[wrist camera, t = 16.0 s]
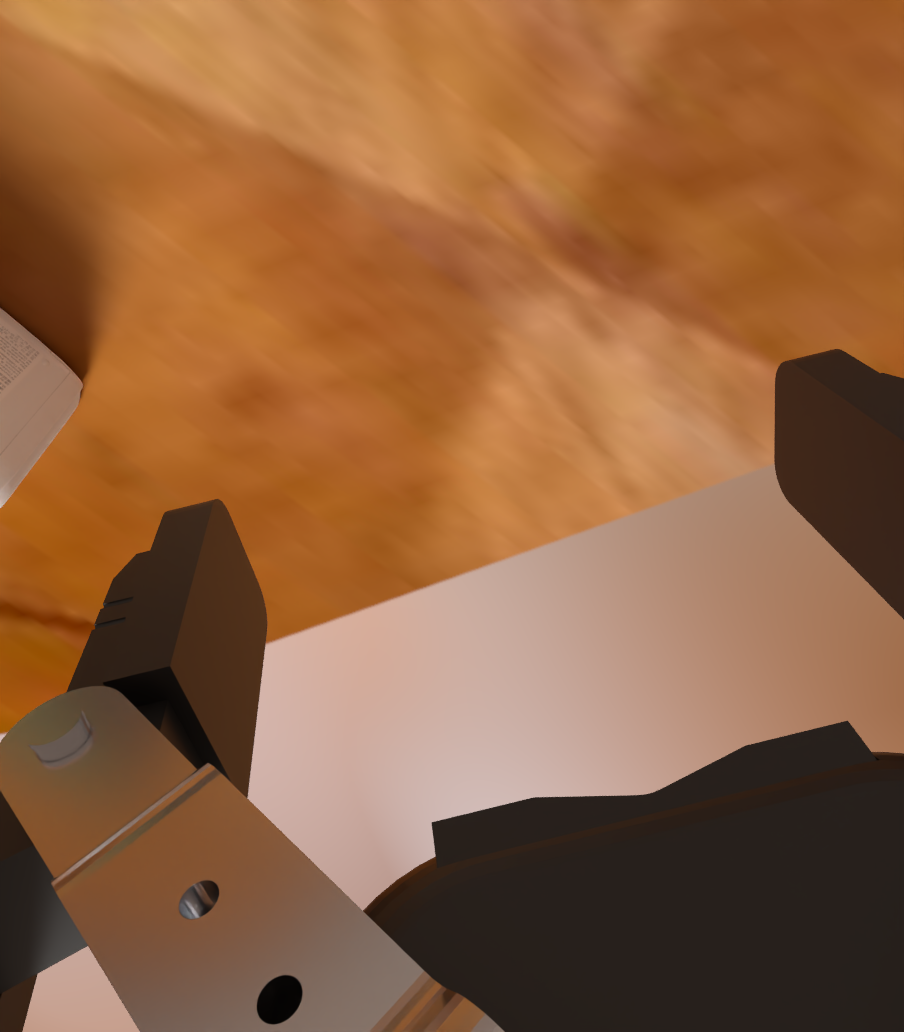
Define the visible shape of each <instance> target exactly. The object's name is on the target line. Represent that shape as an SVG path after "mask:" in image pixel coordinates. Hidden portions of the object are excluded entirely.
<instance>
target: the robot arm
mask: <svg viewBox="0 0 904 1032" xmlns="http://www.w3.org/2000/svg"><path fill="white" fill-rule="evenodd" d="M775 470H776V475H777V479H778V482H779V485H780V488H781V490H782V492H783V494H784V496H785V497H786V499H787V500H788V502H789V503H790V504H791V505H792V506H793V507H794V508H795V509H796V510H797V511H798V512H799V513H800V514H801V515H802V516H803V517H804V518H805V519H806V520H807V521H808V522H809V523H810V524H811V525H812V526H813V527H814V528H815V529H816V530H817V531H818V532H819V533H820V534H821V535H822V536H823V537H824V538H825V540H826V541H828V543H829V544H830V545H831V546H832V547H833V548H834V549H835V550H836V551H837V552H838V553H839V554H840V555H841V556H842V557H843V558H844V559H845V560H846V561H847V562H848V563H849V564H850V565H851V566H852V567H853V568H854V569H855V570H856V571H857V572H858V573H859V574H860V575H861V576H862V577H863V578H864V579H865V580H866V581H867V582H868V583H869V584H870V585H871V586H872V587H873V588H874V589H875V590H876V591H877V592H878V593H879V595H881V597H883V598H884V599H885V601H886V602H887V603H888V604H889V605H890V606H891V607H892V608H893V609H894V610H895V611H896V612H897V613H898V614H899V615H900V616H901V617H902V618H903V619H904V378H900V377H896V376H892V375H889V374H885V373H879V372H877V371H875V370H874V369H872V368H870V367H869V366H867V365H865V364H864V363H862V362H861V361H859V360H857V359H856V358H854V357H852V356H851V355H849V354H847V353H846V352H844V351H842V350H840V349H834V350H830V351H826V352H822V353H818V354H813V355H809V356H805V357H801V358H797V359H793V360H789V361H785V362H783V363H781V365H780V366H779V368H778V370H777V373H776V378H775ZM103 606H104V608H103V609H101V610H100V612H99V615H98V617H97V619H96V622H95V624H94V625H95V629H94V630H92V632H91V634H90V636H89V639H88V641H87V644H86V646H85V648H84V651H83V653H82V656H81V658H80V661H79V663H78V665H77V668H76V670H75V673H74V675H73V677H72V680H71V682H70V685H69V687H68V690H67V692H66V693H64V694H61V695H59V696H57V697H55V698H53V699H51V700H49V701H47V702H45V703H43V704H42V705H40V706H38V707H37V708H35V709H34V710H33V711H31V712H30V713H28V714H27V715H26V716H25V717H23V718H22V719H21V720H20V721H19V722H18V723H17V724H16V725H15V726H14V727H13V728H12V729H11V730H10V731H9V732H8V733H7V734H6V736H5V737H4V738H3V739H2V741H1V743H0V1032H22V1031H23V1026H24V1023H25V1019H26V1016H27V1011H28V1008H29V1004H30V1000H31V997H32V993H33V989H34V985H35V981H36V977H37V974H38V973H39V972H41V971H43V970H45V969H47V968H48V967H50V966H52V965H54V964H55V963H58V962H59V961H61V960H63V959H65V958H67V957H68V956H70V955H72V954H74V953H76V952H77V951H79V950H81V949H83V948H85V947H87V946H88V947H89V948H90V950H91V952H92V953H93V955H94V956H95V958H96V960H97V961H98V963H99V965H100V966H101V968H102V970H103V971H104V973H105V975H106V976H107V978H108V980H109V981H110V983H111V985H112V986H113V988H114V989H115V991H116V993H117V994H118V996H119V998H120V999H121V1001H122V1003H123V1004H124V1006H125V1008H126V1009H127V1011H128V1013H129V1014H130V1016H131V1018H132V1019H133V1021H134V1023H135V1024H136V1026H137V1028H138V1029H139V1031H140V1032H904V754H902V753H889V752H871V751H870V750H869V748H868V747H867V746H866V745H865V743H864V742H863V741H862V739H861V738H860V736H859V735H858V734H857V733H856V731H855V730H854V728H853V727H852V726H851V725H850V723H849V722H848V721H845V722H841V723H837V724H833V725H828V726H824V727H820V728H816V729H812V730H808V731H804V732H800V733H796V734H792V735H788V736H784V737H779V738H776V739H771V740H767V741H763V742H759V743H755V744H751V745H747V746H744V747H742V748H740V749H738V750H736V751H734V752H732V753H730V754H729V755H727V756H725V757H723V758H721V759H719V760H717V761H715V762H713V763H711V764H709V765H707V766H705V767H703V768H701V769H699V770H697V771H695V772H694V773H692V774H690V775H688V776H686V777H684V778H682V779H680V780H678V781H676V782H674V783H672V784H670V785H668V786H666V787H664V788H662V789H660V790H658V791H656V792H653V793H650V794H646V795H633V796H632V795H631V796H585V797H540V798H539V797H535V798H530V799H526V800H522V801H518V802H514V803H509V804H506V805H502V806H497V807H493V808H489V809H485V810H481V811H477V812H473V813H469V814H464V815H460V816H456V817H452V818H448V819H444V820H440V821H436V822H432V830H433V837H434V845H435V854H436V857H434V858H432V859H430V860H428V861H427V862H425V863H423V864H421V865H419V866H418V867H416V868H414V869H413V870H411V871H410V872H408V873H407V874H405V875H404V876H402V877H401V878H399V879H398V880H397V881H395V882H394V883H393V884H392V885H390V886H389V887H388V888H387V889H386V890H384V891H383V892H382V893H381V894H380V895H378V896H377V897H376V898H375V899H374V900H373V901H372V902H371V903H370V904H369V905H368V906H367V908H365V909H364V910H363V911H362V910H361V909H360V908H359V907H358V906H357V905H356V904H355V903H354V902H353V901H352V900H351V899H350V898H349V897H348V896H347V895H346V894H345V893H344V892H343V891H342V890H341V889H340V888H339V887H338V886H336V884H335V883H334V882H333V881H331V880H330V879H329V878H328V877H327V876H326V875H325V874H324V873H323V872H322V871H321V870H320V869H319V868H318V867H317V866H316V865H315V864H314V863H313V862H312V861H311V860H310V859H309V858H308V857H307V856H306V855H305V854H304V853H303V852H302V851H301V850H299V848H298V847H297V846H296V845H294V844H293V843H292V842H291V841H290V840H289V839H288V838H287V837H286V836H285V835H284V834H283V833H282V832H281V831H280V830H279V829H278V828H277V827H276V826H275V825H274V824H273V823H272V822H271V821H270V820H269V819H268V818H267V817H266V816H265V815H264V814H263V813H262V812H261V811H260V810H259V809H258V808H256V807H255V806H254V805H253V804H252V803H251V802H250V801H249V800H248V799H247V796H248V787H249V778H250V771H251V762H252V754H253V745H254V736H255V728H256V720H257V711H258V702H259V694H260V684H261V677H262V668H263V660H264V650H265V643H266V634H267V614H266V608H265V603H264V599H263V595H262V592H261V589H260V586H259V583H258V581H257V579H256V576H255V574H254V571H253V569H252V567H251V564H250V562H249V560H248V557H247V555H246V552H245V550H244V548H243V545H242V543H241V540H240V538H239V536H238V533H237V531H236V528H235V526H234V524H233V521H232V519H231V517H230V514H229V512H228V510H227V508H226V507H225V505H224V504H223V503H222V501H220V500H219V499H215V500H211V501H207V502H203V503H199V504H195V505H191V506H187V507H183V508H179V509H175V510H170V511H167V512H165V513H164V515H163V517H162V520H161V523H160V525H159V528H158V531H157V534H156V536H155V539H154V542H153V545H152V547H151V550H150V551H147V552H143V553H138V554H136V555H135V556H134V557H133V558H132V559H131V561H130V562H129V563H128V564H127V565H126V566H125V567H124V568H123V569H122V570H121V571H120V572H119V573H118V574H117V576H116V577H115V578H114V579H113V581H112V583H111V586H110V588H109V590H108V593H107V595H106V598H105V600H104V603H103Z"/></svg>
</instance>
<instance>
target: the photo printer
mask: <svg viewBox="0 0 904 1032" xmlns="http://www.w3.org/2000/svg"><path fill="white" fill-rule="evenodd" d="M82 388H83V384H82V382H81V380H80V379H79V378H78V376H77V375H76V374H75V373H74V372H73V371H72V370H71V369H70V368H69V367H68V366H67V365H66V364H65V363H64V362H63V361H62V360H61V359H60V358H59V357H58V356H57V355H56V354H54V353H53V352H52V351H51V350H50V349H49V348H47V347H46V346H45V345H44V344H43V343H42V342H41V341H39V340H38V339H37V338H36V337H35V336H33V335H32V334H31V333H30V332H29V331H27V330H26V329H25V328H24V327H23V326H22V325H21V324H19V323H18V322H17V321H16V320H14V319H13V318H12V317H11V316H10V315H8V314H7V313H6V312H5V311H4V310H2V309H1V308H0V508H1V507H2V506H3V505H4V504H5V503H6V501H7V500H8V499H9V497H10V496H11V495H12V493H13V492H14V491H15V489H16V488H17V487H18V485H19V484H20V483H21V481H22V480H23V479H24V477H25V476H26V475H27V474H28V472H29V471H30V470H31V468H32V467H33V466H34V464H35V463H36V462H37V460H38V459H39V458H40V456H41V455H42V454H43V452H44V451H45V450H46V448H47V447H48V446H49V444H50V443H51V442H52V441H53V439H54V438H55V437H56V435H57V434H58V433H59V431H60V430H61V429H62V427H63V426H64V425H65V423H66V422H67V420H68V419H69V418H70V416H71V415H72V414H73V412H74V411H75V409H76V408H77V406H78V403H79V400H80V391H81V389H82Z"/></svg>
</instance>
